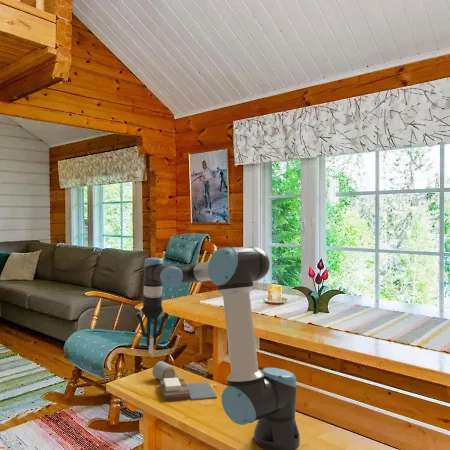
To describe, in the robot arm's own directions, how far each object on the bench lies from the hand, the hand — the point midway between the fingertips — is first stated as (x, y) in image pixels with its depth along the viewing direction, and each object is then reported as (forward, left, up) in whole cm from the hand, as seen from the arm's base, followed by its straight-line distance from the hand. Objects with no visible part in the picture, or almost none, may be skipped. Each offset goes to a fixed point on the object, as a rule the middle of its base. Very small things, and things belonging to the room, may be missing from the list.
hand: (150, 353), depth 182 cm
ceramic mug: (+15, -9, -17) cm, 25 cm away
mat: (-1, -21, -17) cm, 27 cm away
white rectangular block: (0, -9, -15) cm, 17 cm away
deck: (0, -10, -17) cm, 20 cm away
